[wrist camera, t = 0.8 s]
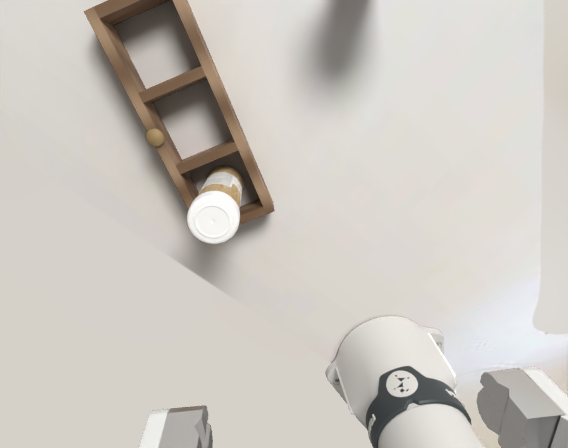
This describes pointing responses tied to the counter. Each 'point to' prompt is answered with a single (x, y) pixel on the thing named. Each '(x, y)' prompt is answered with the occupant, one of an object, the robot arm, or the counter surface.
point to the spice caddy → (129, 3)
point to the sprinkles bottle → (217, 207)
